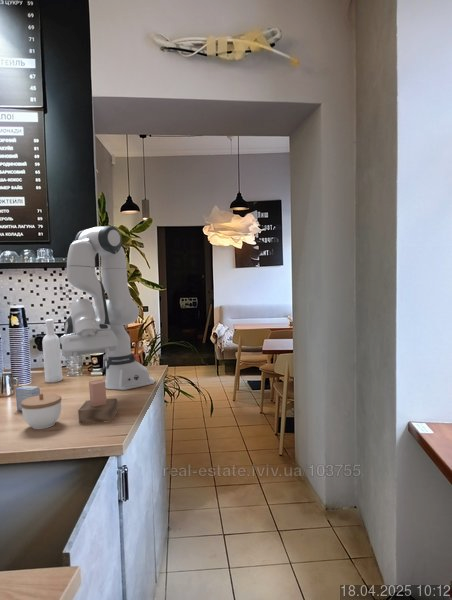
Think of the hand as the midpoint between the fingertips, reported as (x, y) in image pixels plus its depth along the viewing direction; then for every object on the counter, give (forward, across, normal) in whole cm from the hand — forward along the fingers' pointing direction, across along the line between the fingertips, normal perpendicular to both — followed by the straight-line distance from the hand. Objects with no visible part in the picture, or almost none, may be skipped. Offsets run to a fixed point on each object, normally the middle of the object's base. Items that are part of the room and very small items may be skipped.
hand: (93, 361), depth 155 cm
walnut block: (+18, 0, +9) cm, 20 cm away
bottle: (-30, -10, +56) cm, 64 cm away
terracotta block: (+14, 0, +6) cm, 15 cm away
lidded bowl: (+16, -19, +10) cm, 27 cm away
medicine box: (+1, -22, +26) cm, 34 cm away
